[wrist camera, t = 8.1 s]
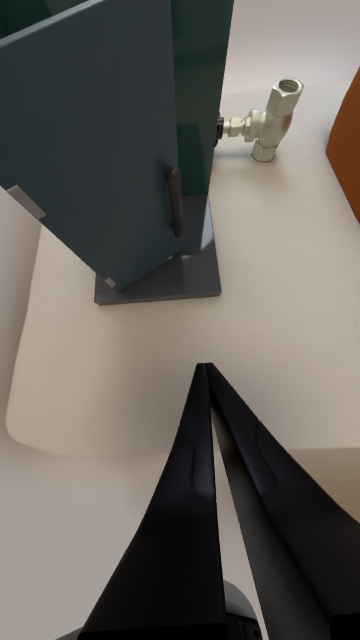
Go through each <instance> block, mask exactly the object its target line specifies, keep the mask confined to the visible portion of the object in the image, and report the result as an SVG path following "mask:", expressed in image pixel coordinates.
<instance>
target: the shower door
mask: <svg viewBox="0 0 360 640" xmlns="http://www.w3.org/2000/svg"><path fill="white" fill-rule="evenodd" d="M0 186H1V187H2V188H4V189H5V190H6V191H7V193H9V194H10V195H11V196H12V197H13V198H14V199H15V200H16V201H17V202H19V203H20V204H21V205H22V206H23V207H24V208H25V209H26V210H27V211H28V212H29V213H31V214H32V215H33V216H34V217H35V218H36V219H38V220H39V221H40V222H41V223H42V224H43V225H44V226H45V227H46V228H47V229H49V230H50V231H51V232H52V233H53V234H54V235H55V236H56V237H57V238H58V239H60V240H61V241H62V242H63V243H64V244H65V245H66V246H67V247H68V248H69V249H70V250H72V251H73V252H74V253H75V254H76V255H77V256H78V257H79V258H80V259H81V260H83V261H84V262H85V263H86V264H87V265H88V266H89V267H90V268H91V269H92V270H94V271H95V272H96V273H97V274H98V275H99V276H100V277H101V278H102V279H103V280H105V282H106V283H108V284H109V285H110V286H111V287H112V288H113V289H114V290H116V291H117V292H119V291H121V290H122V289H124V288H125V287H127V286H128V285H130V284H131V283H133V282H134V281H136V280H137V279H139V278H140V277H142V276H143V275H145V274H146V273H147V272H149V271H150V270H152V269H153V268H155V267H156V266H158V265H159V264H161V263H162V262H164V261H165V260H167V259H168V258H170V257H171V256H173V255H174V254H176V253H177V252H179V251H180V250H182V243H181V235H182V201H181V174H180V171H179V169H178V154H177V132H176V110H175V88H174V65H173V43H172V21H171V0H89V1H86V2H84V3H82V4H80V5H77V6H75V7H73V8H70V9H68V10H66V11H64V12H61V13H59V14H57V15H55V16H52V17H50V18H48V19H46V20H43V21H41V22H39V23H36V24H34V25H32V26H30V27H27V28H25V29H23V30H21V31H18V32H16V33H14V34H12V35H9V36H7V37H5V38H2V39H0Z"/></svg>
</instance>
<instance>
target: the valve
mask: <svg viewBox="0 0 360 640" xmlns="http://www.w3.org/2000/svg"><path fill="white" fill-rule="evenodd" d="M303 88H304V85H303V83H302V82H301V81H300V80H298V79H296V78H293V77H284V78H281V79H279V80H277V82H276V83H275V85H274V87H273V89H272V91H271V95H270V98H269V101H268V104H267V107H266V110H265V111H264V112H262V113H260V110H259V109H252V110H251V111H250V112H249V115H248V117H245V118H244V120H243V121H241V118H231V119H230V122H229V123H224V118H223V117H221V118H220V113H219V116H218V124H217V131H216V138H215V146H214V148H215V147H216V145H217V143H218V139H221V138H222V134H228V137H237V136H238V135H239V134H240V133H241V135H242V136H244V140H245V142H253V140H254V138H257V140H256V141H255V144H254V147H253V151H252V156H253V157H254V158H255V159H256V160H258V161H261V162H266V161H270V160H271V159H272V158H273V156H274V154H275V152H276V150H277V147H278V145H279V143H280V141H281V140H282V139H283V137H284V136H285V134H286V133H287V131H288V129H289V126H290V124H291V120H292V115H293V109H294V108H295V106H296V104H297V101H298V99H299V97H300V95H301V92H302V90H303Z"/></svg>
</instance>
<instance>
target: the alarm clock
mask: <svg viewBox="0 0 360 640" xmlns="http://www.w3.org/2000/svg"><path fill="white" fill-rule="evenodd" d="M326 154H327V156H328V159H329V161H330V163H331V165H332V167H333V169H334V171H335V173H336V176H337V178H338V180H339V182H340V184H341V186H342V188H343V190H344V193H345V195H346V197H347V199H348V201H349V203H350V205H351V207H352V210H353V212H354V214H355V216H356V218H357V219H358V220H359V221H360V67H359V70H358V71H357V73H356V75H355V77H354V79H353V81H352V83H351V85H350V87H349V89H348V91H347V93H346V95H345V97H344V99H343V101H342V104H341V107H340V109H339V112H338V114H337V117H336V119H335V122H334V125H333V127H332V130H331V133H330V137H329V141H328V145H327V149H326Z"/></svg>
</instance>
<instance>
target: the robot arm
mask: <svg viewBox="0 0 360 640" xmlns="http://www.w3.org/2000/svg"><path fill="white" fill-rule="evenodd" d="M211 416H212V420H213V424H214V427H215V431H216V435H217V439H218V443H219V447H220V451H221V455H222V458H223V462H224V466H225V470H226V474H227V478H228V482H229V486H230V490H231V494H232V497H233V501H234V505H235V509H236V513H237V517H238V521H239V523H240V529H241V533H242V536H243V540H244V544H245V548H246V552H247V556H248V560H249V564H250V568H251V571H252V575H253V579H254V583H255V587H256V590H257V595H258V598H259V602H260V606H261V610H262V614H263V618H264V622H265V626H266V629H267V634H268V637H269V640H360V523H359V522H358V521H356V520H355V519H354V518H353V517H351V516H350V515H349V514H348V513H347V512H346V511H345V510H344V509H342V508H341V507H340V506H339V505H338V504H337V503H336V502H335V501H334V500H333V499H332V498H331V497H330V496H329V495H328V494H327V493H326V492H325V491H324V490H323V489H322V488H321V487H320V486H319V485H318V483H317V482H316V481H315V480H314V479H313V478H312V477H311V476H310V475H309V474H308V473H307V472H306V471H305V470H304V469H303V468H302V467H301V466H300V465H299V464H298V463H297V462H296V461H295V460H294V459H293V458H292V456H291V455H290V454H289V453H288V452H287V451H286V450H285V449H284V448H283V447H282V446H281V445H280V444H279V443H278V441H277V440H276V439H275V438H274V437H273V436H272V434H271V433H270V432H269V431H268V430H267V429H266V427H265V426H264V425H263V424H262V422H261V421H260V420H258V418H257V416H256V415H255V414H254V413H253V412H252V410H251V409H250V408H249V407H248V405H247V404H246V403H245V402H244V401H243V399H242V398H241V397H240V396H239V395H238V393H237V392H236V391H235V390H234V388H233V387H232V386H231V385H230V384H229V382H228V381H227V380H226V379H225V377H224V376H223V375H222V374H221V373H220V371H219V370H218V369H217V368H216V366H215V365H214V364H213V363H212V362H209V363H205V364H204V363H197V365H196V368H195V372H194V375H193V379H192V382H191V386H190V389H189V393H188V396H187V400H186V403H185V407H184V410H183V414H182V417H181V420H180V425H179V427H178V430H177V434H176V437H175V440H174V443H173V446H172V449H171V452H170V454H169V457H168V460H167V463H166V465H165V467H164V470H163V472H162V475H161V477H160V479H159V482H158V485H157V487H156V489H155V492H154V494H153V496H152V499H151V501H150V504H149V506H148V508H147V511H146V513H145V515H144V517H143V519H142V521H141V523H140V526H139V528H138V530H137V532H136V534H135V535H134V537H133V539H132V541H131V543H130V545H129V546H128V548H127V550H126V551H125V553H124V555H123V557H122V559H121V560H120V562H119V564H118V566H117V568H116V569H115V571H114V573H113V575H112V576H111V578H110V580H109V582H108V584H107V585H106V587H105V589H104V591H103V593H102V594H101V596H100V598H99V599H98V601H97V603H96V605H95V607H94V609H93V610H92V612H91V614H90V615H89V617H88V619H87V621H86V623H85V625H84V626H83V627H81V628H79V629H77V630H75V631H73V632H71V633H69V634H67V635H65V636H62V637H60V638H58V639H56V640H262V634H261V629H260V626H259V623H258V621H257V620H256V619H255V618H251V617H246V616H242V615H237V614H232V613H227V612H226V607H225V596H224V585H223V575H222V565H221V553H220V543H219V531H218V519H217V503H216V487H215V469H214V453H213V436H212V420H211Z"/></svg>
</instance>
